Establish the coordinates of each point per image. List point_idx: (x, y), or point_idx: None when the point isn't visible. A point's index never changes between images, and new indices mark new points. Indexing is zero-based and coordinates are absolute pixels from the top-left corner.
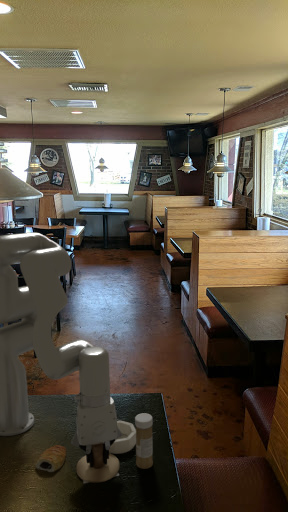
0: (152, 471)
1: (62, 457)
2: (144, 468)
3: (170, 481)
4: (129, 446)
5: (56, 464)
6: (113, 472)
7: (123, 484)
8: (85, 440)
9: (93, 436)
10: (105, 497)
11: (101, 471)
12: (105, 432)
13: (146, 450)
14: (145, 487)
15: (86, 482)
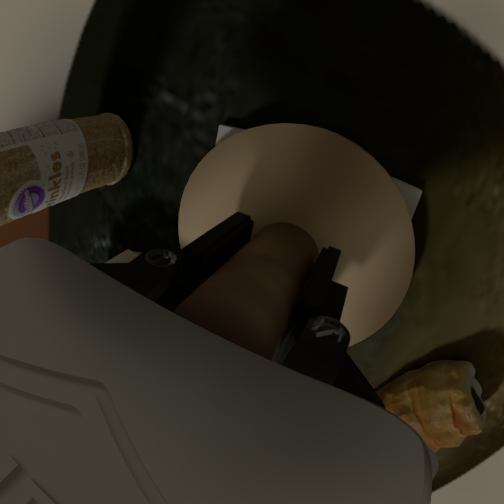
0: (105, 94)
1: (400, 401)
2: (116, 115)
3: (91, 27)
4: (114, 257)
5: (453, 382)
6: (236, 142)
7: (230, 62)
8: (357, 471)
9: (182, 455)
10: (358, 25)
11: (293, 193)
12: (5, 341)
13: (37, 125)
14: (161, 14)
15: (405, 186)
